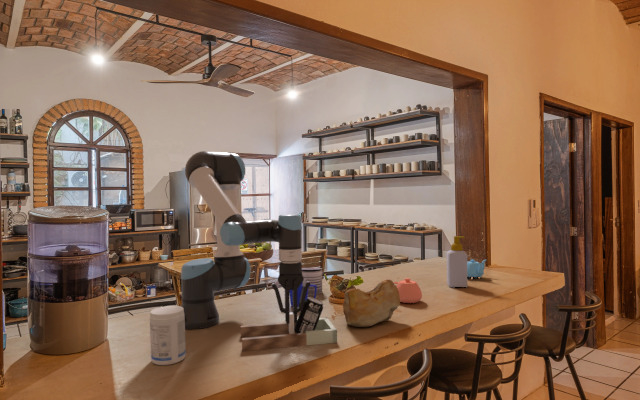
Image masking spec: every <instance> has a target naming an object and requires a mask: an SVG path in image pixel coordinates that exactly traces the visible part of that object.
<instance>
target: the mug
mask: <svg viewBox="0 0 640 400" xmlns="http://www.w3.org/2000/svg"><path fill="white" fill-rule="evenodd" d="M302 283H303V282H302ZM302 283H301V285H300V286H299V288H298V289H297V307H298V305H299V301H300V296H301V292H302V288H303V285H302ZM310 286H313V287H315V295H313V298H315V299H317V298H316V297H317V294H316V291H317V285H310ZM310 286H309V287H310ZM309 287H308V288H309ZM307 297H309V295H308V289H307V293H306V297H305V300H306V299H307ZM289 301H290V305H291V307H293V296H292V290H290V293H289Z"/></svg>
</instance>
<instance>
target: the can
mask: <svg viewBox="0 0 640 400" xmlns="http://www.w3.org/2000/svg"><path fill="white" fill-rule="evenodd" d="M302 276H303V277H304V280H306V281H309V282H310V285H317V291H316V295H321V294H322V293H323V268H322V267H321V268H320V267H302ZM314 295H315V287H313V286H310V287H309V288H308V296H314Z"/></svg>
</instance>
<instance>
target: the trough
mask: <svg viewBox="0 0 640 400" xmlns="http://www.w3.org/2000/svg"><path fill="white" fill-rule="evenodd" d="M295 325H296V323H294V328H295ZM240 338H241V348H242V349H241V351H242V352H247V351H259V350H270V349H281V348H292V347H294V348H295V347H304V346H308V345H307V340H306V333H295V330H294V334H289V324H286V321H285V322H273V323H260V324H248V325H240Z"/></svg>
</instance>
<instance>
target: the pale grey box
mask: <svg viewBox="0 0 640 400" xmlns="http://www.w3.org/2000/svg"><path fill="white" fill-rule="evenodd" d="M306 340H307V345H306V346H312V345H313V346H314V345H324V344H325V345H326V344H333V343H338V329H337V328H336V327H335V325H333V323H332V322H331V320H330V319H329V318H328V317H320V318H319V321H318V323H317V326H316V329H315V330H314V331H306Z"/></svg>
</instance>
